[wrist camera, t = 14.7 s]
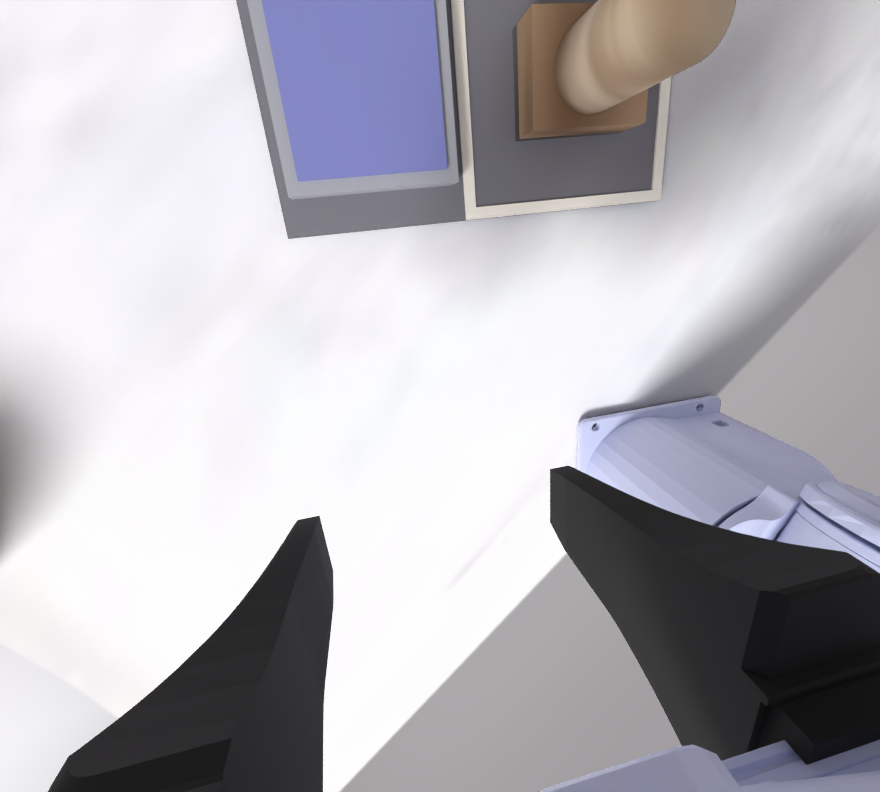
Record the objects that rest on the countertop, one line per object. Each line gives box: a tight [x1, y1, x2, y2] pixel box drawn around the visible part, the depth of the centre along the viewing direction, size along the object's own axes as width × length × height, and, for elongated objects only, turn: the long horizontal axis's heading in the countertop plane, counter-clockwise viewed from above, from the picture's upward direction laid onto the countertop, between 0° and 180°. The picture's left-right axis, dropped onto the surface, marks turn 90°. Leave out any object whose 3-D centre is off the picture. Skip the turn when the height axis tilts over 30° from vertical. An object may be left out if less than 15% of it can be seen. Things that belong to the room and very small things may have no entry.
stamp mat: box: [236, 0, 672, 239], centre depth 17 cm, size 18×10×2 cm, turn 96°
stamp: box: [512, 0, 736, 141], centre depth 15 cm, size 5×4×7 cm
